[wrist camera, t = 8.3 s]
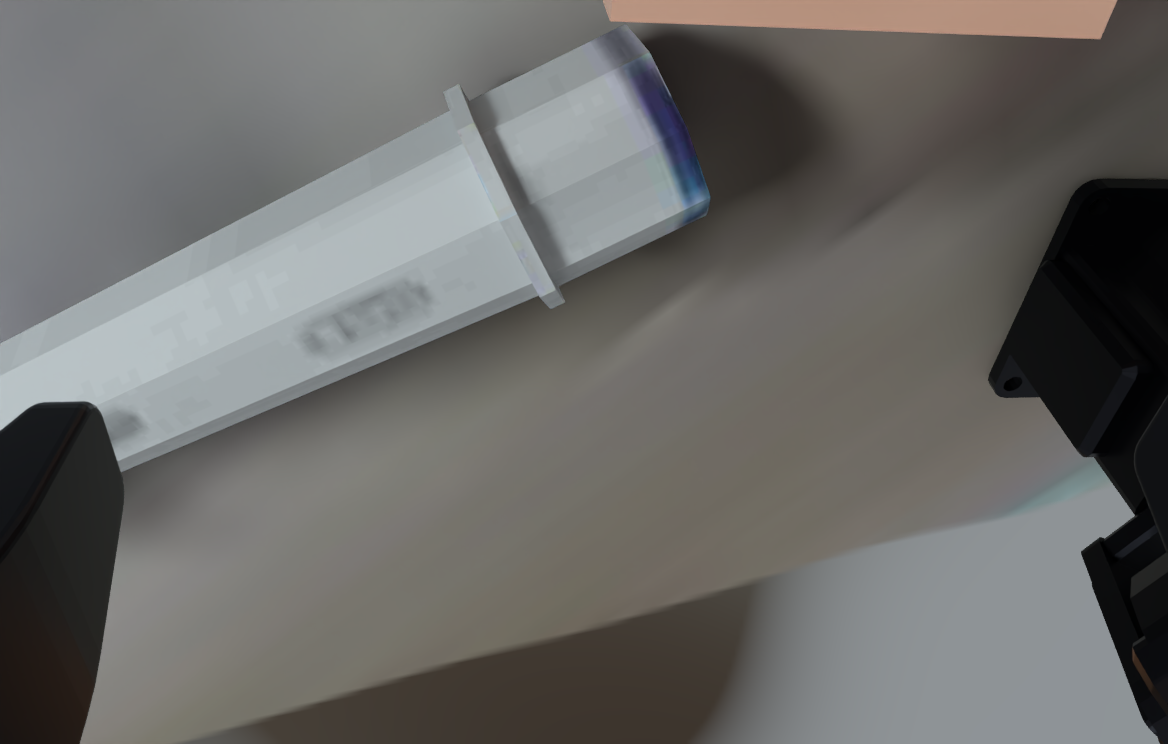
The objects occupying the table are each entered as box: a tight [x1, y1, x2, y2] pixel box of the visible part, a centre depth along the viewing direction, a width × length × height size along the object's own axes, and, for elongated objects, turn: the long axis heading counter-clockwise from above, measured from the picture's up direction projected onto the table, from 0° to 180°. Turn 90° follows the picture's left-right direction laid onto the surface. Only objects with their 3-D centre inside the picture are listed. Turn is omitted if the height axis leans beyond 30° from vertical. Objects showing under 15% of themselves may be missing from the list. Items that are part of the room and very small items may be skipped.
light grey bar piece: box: [0, 24, 711, 472], centre depth 21 cm, size 5×7×25 cm
